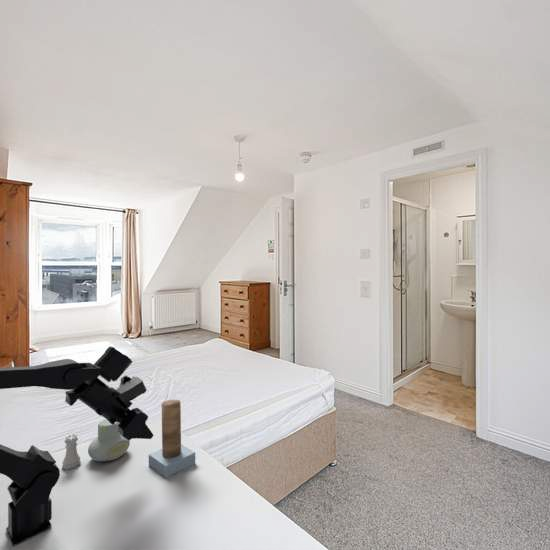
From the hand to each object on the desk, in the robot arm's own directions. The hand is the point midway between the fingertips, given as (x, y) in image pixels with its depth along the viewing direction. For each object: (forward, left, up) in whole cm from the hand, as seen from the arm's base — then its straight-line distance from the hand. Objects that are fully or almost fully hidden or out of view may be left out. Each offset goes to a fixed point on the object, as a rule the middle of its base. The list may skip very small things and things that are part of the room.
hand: (144, 430), depth 87 cm
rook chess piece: (-11, +21, -12) cm, 26 cm away
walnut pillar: (+8, 0, -9) cm, 12 cm away
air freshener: (-2, +18, -12) cm, 22 cm away
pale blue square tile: (+8, 0, -12) cm, 14 cm away
